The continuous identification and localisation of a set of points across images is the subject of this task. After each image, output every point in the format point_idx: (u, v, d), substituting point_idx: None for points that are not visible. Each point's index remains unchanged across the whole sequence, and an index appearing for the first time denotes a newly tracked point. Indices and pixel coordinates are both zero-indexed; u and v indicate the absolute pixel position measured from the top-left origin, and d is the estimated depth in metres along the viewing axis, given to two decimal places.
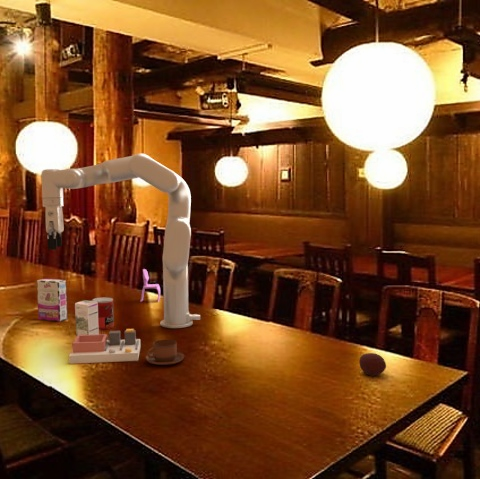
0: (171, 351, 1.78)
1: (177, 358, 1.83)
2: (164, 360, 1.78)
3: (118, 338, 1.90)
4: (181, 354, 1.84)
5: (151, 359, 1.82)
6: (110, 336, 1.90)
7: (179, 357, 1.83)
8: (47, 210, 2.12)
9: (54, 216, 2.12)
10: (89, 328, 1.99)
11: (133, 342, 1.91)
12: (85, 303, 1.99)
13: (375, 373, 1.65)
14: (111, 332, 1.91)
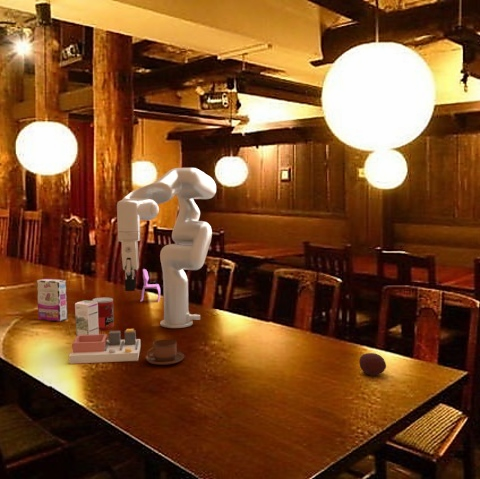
0: (171, 351, 1.78)
1: (177, 358, 1.83)
2: (164, 360, 1.78)
3: (118, 338, 1.90)
4: (181, 354, 1.84)
5: (151, 359, 1.82)
6: (110, 336, 1.90)
7: (179, 357, 1.83)
8: (124, 245, 1.92)
9: (132, 252, 1.92)
10: (89, 328, 1.99)
11: (133, 342, 1.91)
12: (85, 303, 1.99)
13: (375, 373, 1.65)
14: (111, 332, 1.91)
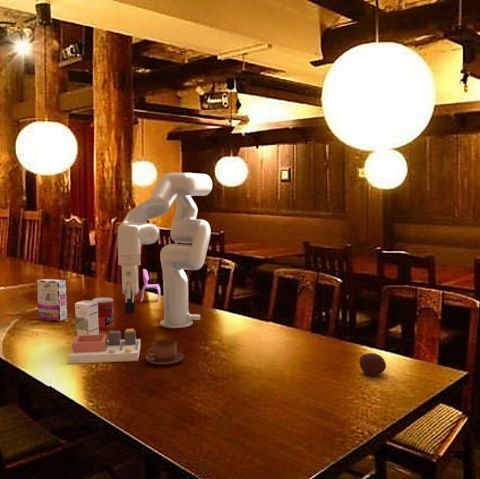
0: (171, 351, 1.78)
1: (177, 358, 1.83)
2: (164, 360, 1.78)
3: (118, 338, 1.90)
4: (181, 354, 1.84)
5: (151, 359, 1.82)
6: (110, 336, 1.90)
7: (179, 357, 1.83)
8: (124, 270, 1.93)
9: (132, 276, 1.93)
10: (89, 328, 1.99)
11: (133, 342, 1.91)
12: (85, 303, 1.99)
13: (375, 373, 1.65)
14: (111, 332, 1.91)
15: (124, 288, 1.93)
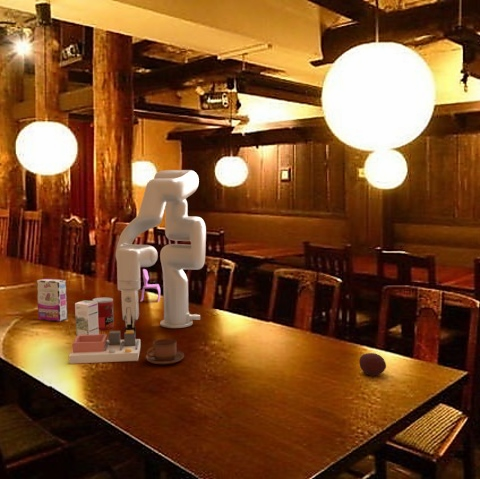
0: (171, 351, 1.78)
1: (177, 357, 1.83)
2: (164, 359, 1.78)
3: (118, 338, 1.90)
4: (181, 353, 1.84)
5: (151, 358, 1.82)
6: (110, 336, 1.90)
7: (179, 356, 1.84)
8: (124, 295, 1.88)
9: (132, 302, 1.88)
10: (89, 328, 1.99)
11: (133, 343, 1.89)
12: (85, 303, 1.99)
13: (375, 373, 1.65)
14: (111, 332, 1.91)
15: (124, 314, 1.88)
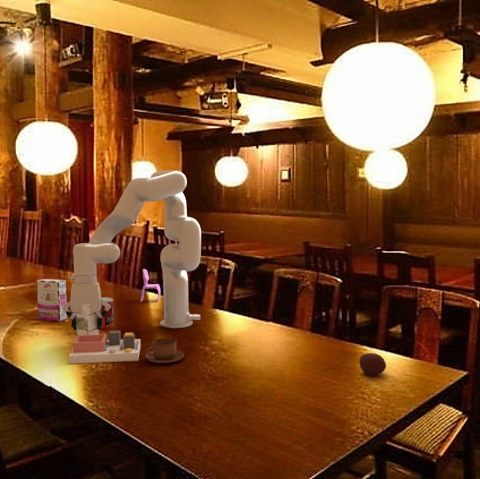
0: (170, 350, 1.79)
1: (177, 356, 1.84)
2: (164, 358, 1.79)
3: (118, 338, 1.90)
4: (181, 353, 1.85)
5: (151, 357, 1.83)
6: (110, 336, 1.90)
7: (179, 356, 1.84)
8: None
9: None
10: (89, 328, 1.99)
11: (132, 346, 1.86)
12: None
13: (375, 373, 1.65)
14: (111, 332, 1.91)
15: None
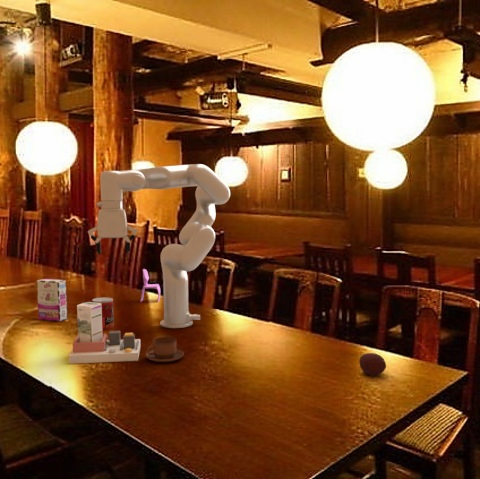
0: (170, 349, 1.81)
1: (177, 355, 1.85)
2: (163, 357, 1.81)
3: (118, 338, 1.90)
4: (181, 351, 1.86)
5: (151, 356, 1.85)
6: (110, 336, 1.90)
7: (179, 354, 1.86)
8: None
9: None
10: (93, 332, 1.84)
11: (132, 346, 1.86)
12: (88, 305, 1.85)
13: (375, 373, 1.65)
14: (111, 332, 1.91)
15: None
